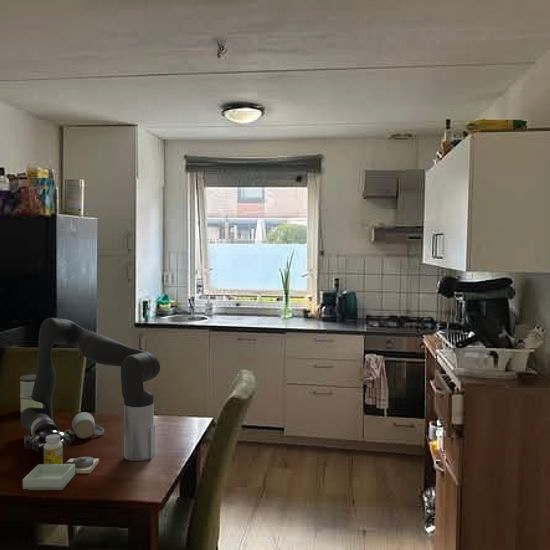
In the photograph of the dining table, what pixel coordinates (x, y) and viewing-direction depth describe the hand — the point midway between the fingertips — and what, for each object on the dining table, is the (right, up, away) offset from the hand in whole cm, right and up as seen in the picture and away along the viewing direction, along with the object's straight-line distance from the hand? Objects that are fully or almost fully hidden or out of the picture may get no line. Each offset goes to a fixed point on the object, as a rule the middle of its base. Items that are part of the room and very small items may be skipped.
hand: (52, 445), depth 166 cm
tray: (+4, -7, -11) cm, 13 cm away
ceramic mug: (+1, -6, +29) cm, 30 cm away
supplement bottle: (0, -7, 0) cm, 7 cm away
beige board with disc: (+8, -7, 0) cm, 11 cm away
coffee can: (-32, -4, +60) cm, 68 cm away
